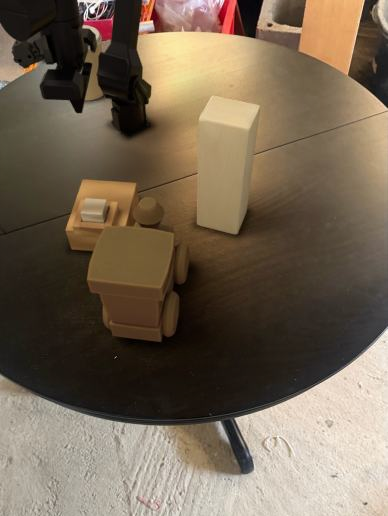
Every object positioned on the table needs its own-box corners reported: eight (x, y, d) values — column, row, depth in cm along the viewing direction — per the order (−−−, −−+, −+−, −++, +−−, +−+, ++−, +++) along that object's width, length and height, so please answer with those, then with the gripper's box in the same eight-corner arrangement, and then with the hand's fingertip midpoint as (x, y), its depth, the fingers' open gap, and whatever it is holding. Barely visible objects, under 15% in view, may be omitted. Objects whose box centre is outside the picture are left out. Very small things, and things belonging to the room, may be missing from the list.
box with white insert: (87, 199, 91) (80, 170, 85) (139, 202, 90) (135, 174, 85) (70, 252, 84) (61, 225, 78) (126, 256, 83) (121, 229, 78)
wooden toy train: (173, 356, 72) (168, 288, 58) (101, 347, 73) (78, 278, 59) (193, 258, 83) (192, 180, 69) (129, 251, 84) (115, 173, 70)
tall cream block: (249, 208, 89) (262, 101, 71) (238, 235, 86) (249, 129, 68) (208, 199, 91) (211, 92, 73) (196, 225, 87) (196, 119, 69)
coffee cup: (88, 75, 114) (77, 19, 103) (117, 88, 111) (109, 32, 100) (60, 93, 110) (46, 37, 99) (90, 107, 107) (79, 51, 96)
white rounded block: (87, 207, 81) (85, 198, 79) (108, 208, 81) (106, 199, 79) (83, 222, 79) (80, 213, 77) (104, 223, 79) (102, 214, 77)
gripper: (22, -13, 78) (45, 84, 91) (-8, 40, 67) (23, 141, 80) (89, -11, 78) (103, 85, 91) (70, 43, 67) (88, 143, 80)
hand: (79, 112), depth 86 cm, fingers closed
